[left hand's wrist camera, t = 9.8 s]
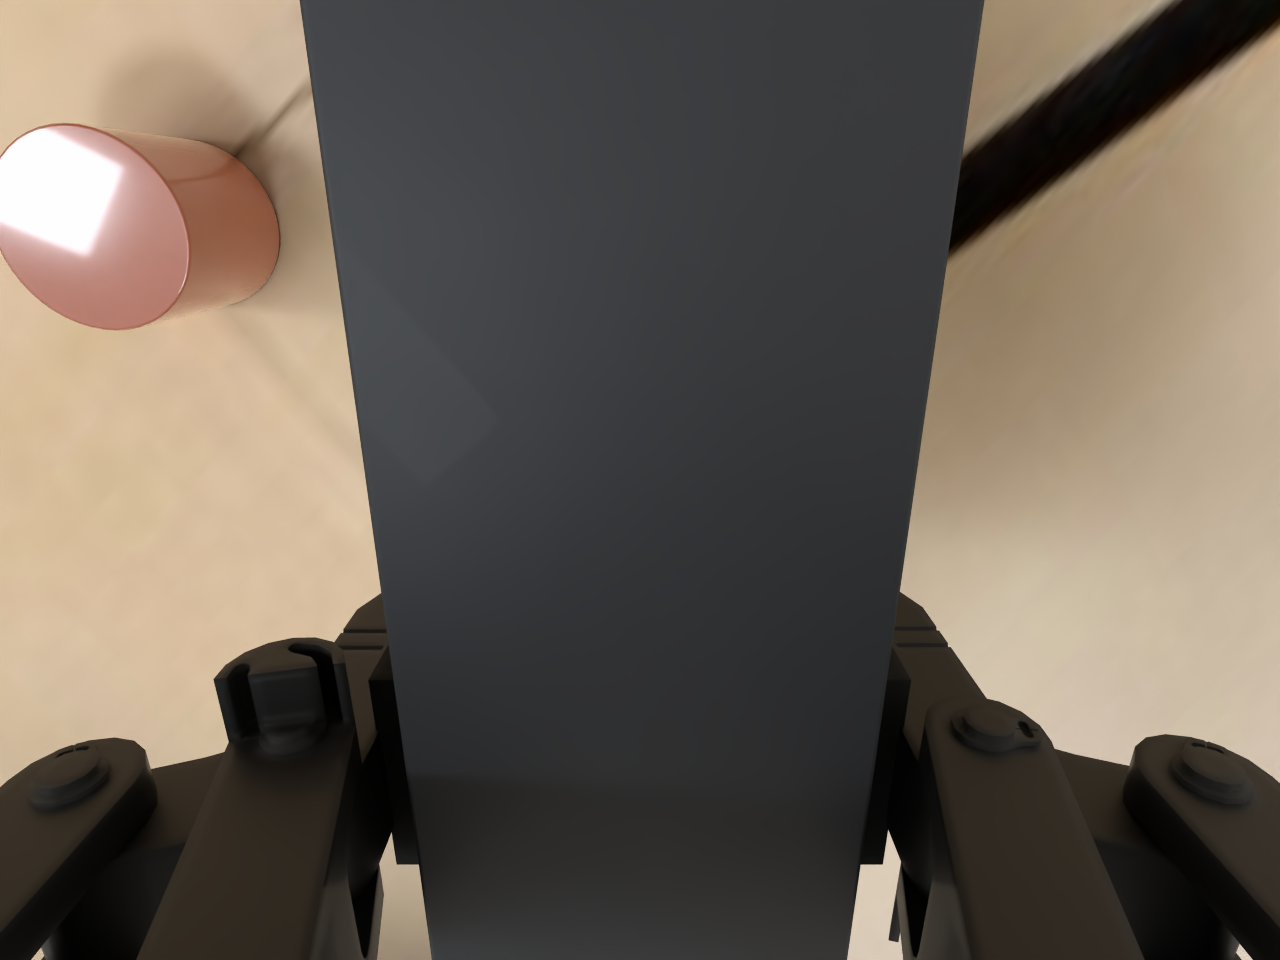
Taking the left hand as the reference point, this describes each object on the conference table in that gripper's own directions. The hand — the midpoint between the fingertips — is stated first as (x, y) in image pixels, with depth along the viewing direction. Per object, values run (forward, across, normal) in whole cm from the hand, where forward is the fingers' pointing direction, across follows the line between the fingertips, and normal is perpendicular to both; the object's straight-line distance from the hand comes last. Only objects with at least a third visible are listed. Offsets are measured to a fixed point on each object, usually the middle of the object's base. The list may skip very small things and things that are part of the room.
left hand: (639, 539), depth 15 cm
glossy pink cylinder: (+11, +14, -6) cm, 19 cm away
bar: (0, 0, -8) cm, 8 cm away
